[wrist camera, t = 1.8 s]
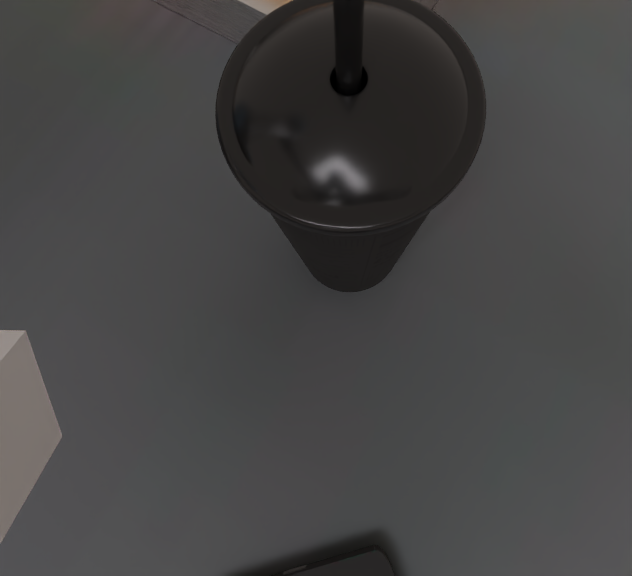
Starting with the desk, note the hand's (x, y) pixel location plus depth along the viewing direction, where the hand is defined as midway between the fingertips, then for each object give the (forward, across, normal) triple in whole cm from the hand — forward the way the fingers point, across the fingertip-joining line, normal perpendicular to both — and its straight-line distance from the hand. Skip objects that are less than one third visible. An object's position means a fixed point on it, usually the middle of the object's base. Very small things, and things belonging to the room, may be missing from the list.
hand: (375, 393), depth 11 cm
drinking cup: (+18, -1, -6) cm, 19 cm away
